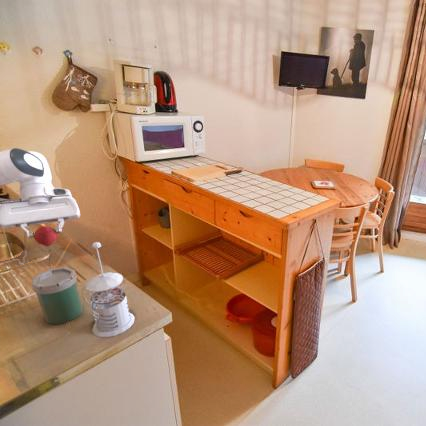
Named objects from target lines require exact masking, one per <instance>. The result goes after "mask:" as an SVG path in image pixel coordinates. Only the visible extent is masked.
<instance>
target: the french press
mask: <svg viewBox="0 0 426 426" xmlns="http://www.w3.org/2000/svg"><path fill="white" fill-rule="evenodd" d="M101 247H102V244H101V242H99V241H95V242H93V243H92V244H91V248H92V249H95V250H96V253H97V257H98V261H99V266H100V270H101V273H99V274H97V275H95V276H93V277H91V278H90V279H88V280H87V281H86V282H85V285H84V286H83V288H82V296H83V299H84V300H85V302H86V304H87V305H89V307H90V309H91V311H92V316H93V319H94V324H93V325H92V329H91V331H92V333H93V335H94V336H97V337H98V338H110V337H115V336H118V335H120V334H122V333H124V332H125V331H127V330H129V329H130V328H131V327H132V326H133V324H135V320H136V319H135V315H134V314H133V313H131V312H130V310H129V304H128V298H127V294H126V293H125V292H124V289H123V288H122V287H120V285H121V284H122V283H123V280H124V277H123V275H122V274H121V273H118V272H110V271H108V272H104V271H103V266H102V261H101V258H100V253H99V248H101ZM85 289H86V290H87V291H88V295H89V296H90V302H89V301H88V300H87V298H86V296H85ZM91 292H92V293H93V294H92V293H91ZM98 305H99V308H98Z"/></svg>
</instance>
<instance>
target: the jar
mask: <svg viewBox="0 0 426 426" xmlns="http://www.w3.org/2000/svg"><path fill="white" fill-rule="evenodd" d="M77 280H78V278H77V273H76V270H75V269H74V268H71V267H68V266H67V267H66V266H63V267H55V268H51V269H46V270H44V271H42V272H40V273H37V274H36V275H35V276H33V278H32V279H31V282H30V284H31V287H32V290H33V292H34V293H35V294H36V297H37V300H38V303H39V305H40V309H41V312H42V315H43V318H44V321H45V322H46V323H47V324H49V325H60V324H66V323H68V322H70V321H73V320H74V319H76V318H78V317H79V316H81V314H82V313H83V311H84V306H83V302H82V298H81V294H80V290H79V285H78V283H77Z"/></svg>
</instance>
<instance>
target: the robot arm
mask: <svg viewBox="0 0 426 426" xmlns="http://www.w3.org/2000/svg"><path fill="white" fill-rule="evenodd" d="M52 180H53V175H52V171H51V167H50V164H49V163H48V160H47V158H46V157H45V155H43V154H42V153H40V152H38V151H34V150H25V149H22V148H18V147H14V148H9V149H4V150H1V151H0V188H1V187H2V186H6V185H9V184H13V183H16V182H17V183H19V197H20V198H18V199H10V200H7V199H6V200H2V201H1V202H0V227H1V228H3V229H5V230H9V229H16V228H21V229H22V231H24V233H26V236H27V238H28V239H32V238H34V234H35V232H34V231H33V230H29V226H30V227H31V226H36V225H41V224H44V225H45V224H50V223H57V222H58V226H55V227H54V230H56V233H57V234H62V233H63V230H62V228H63V227H64V225H65V221H70V220H71V221H72V220H78V219H79V218H81V211H80V208H79V205H78V203H77V201H76V199H75V198H74V197H73V195H72V193H71V190H69V189H67V188H59V187H55V186H54V185H53V183H52Z"/></svg>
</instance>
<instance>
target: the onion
mask: <svg viewBox="0 0 426 426" xmlns="http://www.w3.org/2000/svg"><path fill="white" fill-rule="evenodd" d="M58 235H59V233H56V229H55V228H53V227H51V226H48V225H46V224H45V223H44V224H40V227H38V228H37V229H36V230H35V232H34V237H33V239H34V242H36V243H37V244H39V245H42V246H45V247H50V246H52V245H53V244H55V242H57V240H58Z"/></svg>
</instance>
